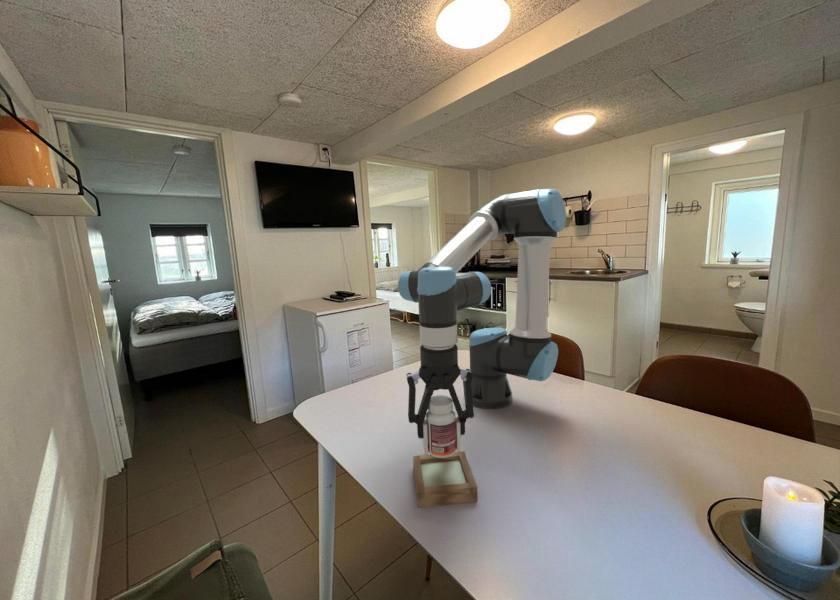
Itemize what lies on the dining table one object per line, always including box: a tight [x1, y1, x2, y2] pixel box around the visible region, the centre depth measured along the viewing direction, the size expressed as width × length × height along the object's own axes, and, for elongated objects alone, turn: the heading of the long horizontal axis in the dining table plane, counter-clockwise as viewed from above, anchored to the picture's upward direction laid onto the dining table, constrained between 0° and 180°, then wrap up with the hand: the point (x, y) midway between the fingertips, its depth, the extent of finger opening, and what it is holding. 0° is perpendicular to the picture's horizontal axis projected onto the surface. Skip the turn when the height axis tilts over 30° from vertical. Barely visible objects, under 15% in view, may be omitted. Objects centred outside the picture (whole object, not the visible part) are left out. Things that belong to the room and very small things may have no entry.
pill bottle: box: [425, 394, 457, 458], centre depth 72 cm, size 6×6×11 cm
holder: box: [412, 450, 479, 509], centre depth 74 cm, size 12×12×3 cm
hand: (441, 449), depth 73 cm, fingers closed on pill bottle, 6 cm apart
